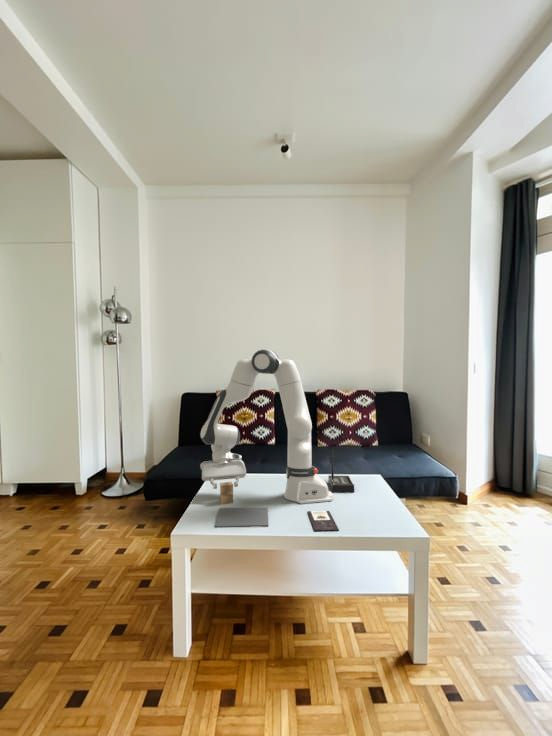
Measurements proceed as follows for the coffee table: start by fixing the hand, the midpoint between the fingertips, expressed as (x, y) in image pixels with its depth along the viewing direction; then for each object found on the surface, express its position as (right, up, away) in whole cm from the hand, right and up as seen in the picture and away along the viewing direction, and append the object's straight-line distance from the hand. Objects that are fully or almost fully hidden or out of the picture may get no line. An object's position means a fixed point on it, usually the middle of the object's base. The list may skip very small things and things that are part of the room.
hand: (225, 487), depth 172 cm
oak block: (+1, -6, -1) cm, 6 cm away
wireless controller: (+55, -6, +21) cm, 59 cm away
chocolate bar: (+40, -7, -23) cm, 47 cm away
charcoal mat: (+9, -6, -19) cm, 22 cm away
